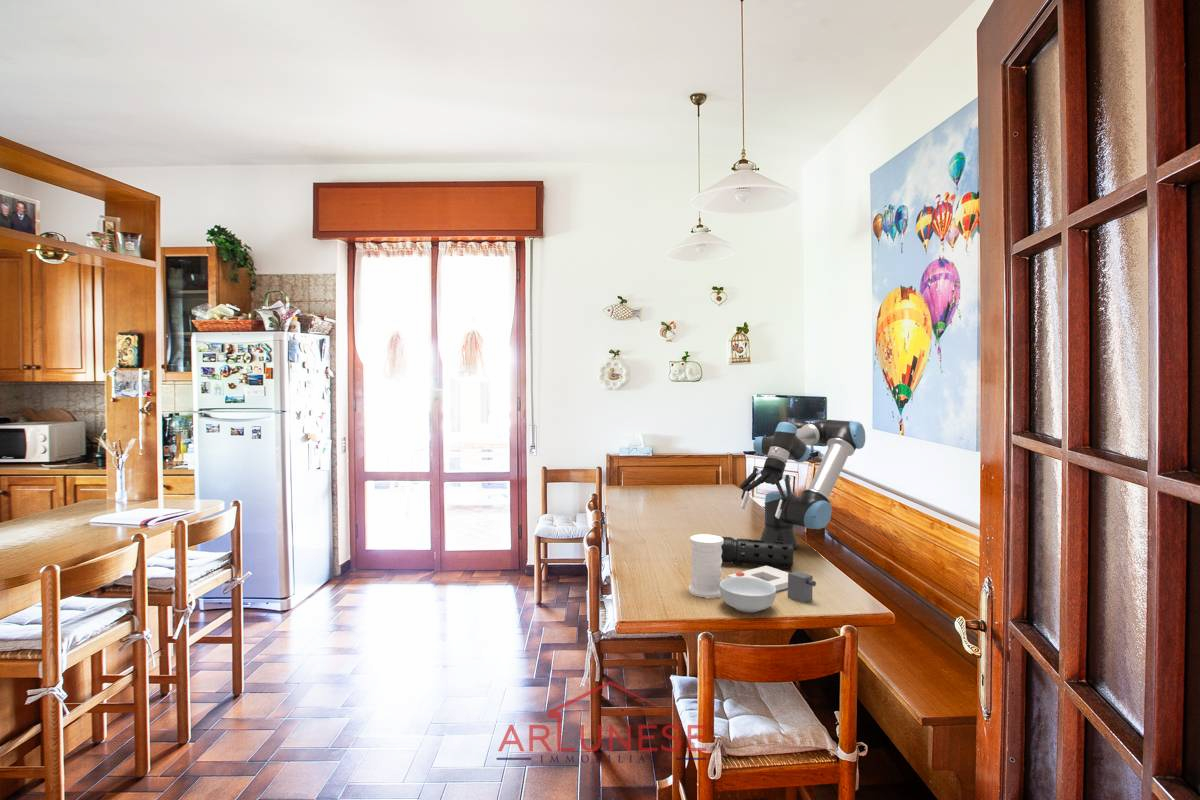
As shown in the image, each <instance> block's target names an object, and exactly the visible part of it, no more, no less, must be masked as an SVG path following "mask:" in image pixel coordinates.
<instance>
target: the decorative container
mask: <svg viewBox="0 0 1200 800" xmlns="http://www.w3.org/2000/svg"><path fill="white" fill-rule="evenodd" d="M722 537H723V536H719V535H715V534H708V533H698V534H694V535H691V536H690V537H689V540H690V541H689V542H690V544H691V549H690V550H691V558H690V560H691V567H690V570H691V576H690V581H691V584H689V586H688V593H689V592H690V593H691V594H693V595H695V596H694V597H696V596H700V597H709V598H710V599H716V598H715V597H718V598H722V597H721V594H720V582H721V581H722V580H723V579H722V574H723V569H722V564H723V562H722V558H721V554H722V548H721V545H723V543H724V540H723V538H722ZM690 593H689V594H690ZM691 594H690V595H691ZM693 595H692V596H693ZM700 597H699V598H700ZM709 598H708V599H709Z"/></svg>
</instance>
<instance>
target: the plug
mask: <svg viewBox="0 0 1200 800" xmlns="http://www.w3.org/2000/svg"><path fill="white" fill-rule="evenodd" d="M813 579H814V577H813V575H811V574H809V573H805V572H803V571H799V570H795V571H792V572H788V589H787V598H788V599H790V598H791V600H793V601H797V602H798V601H799V603H801V602H802V604H805V602H806V603H809V602H812V601H813V587H816V586H817V582H816V581H815V580H813ZM811 600H812V601H811ZM808 601H809V602H808Z"/></svg>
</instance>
